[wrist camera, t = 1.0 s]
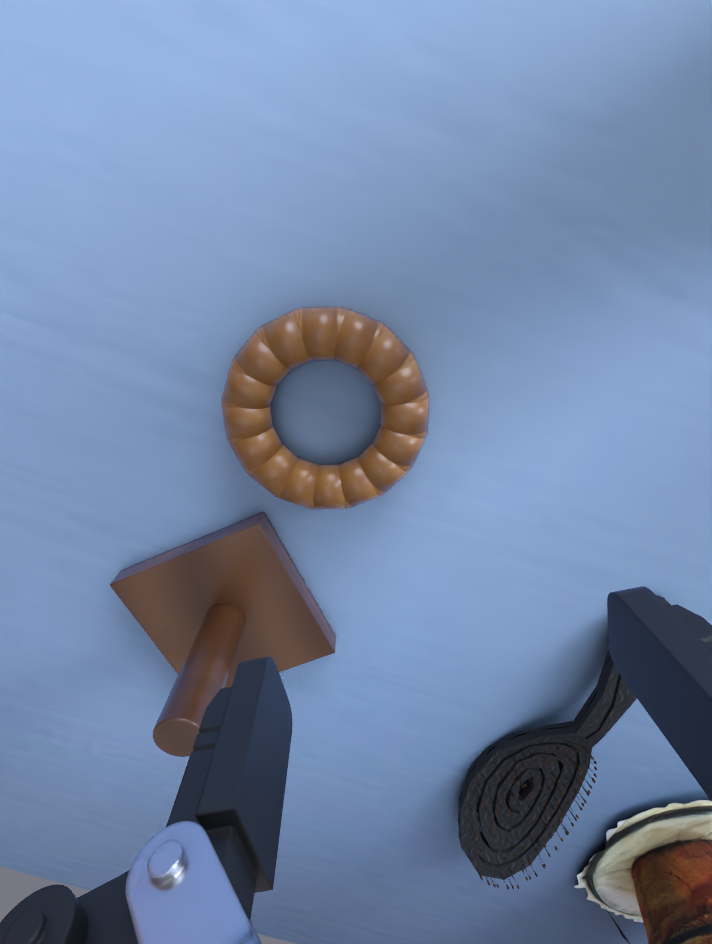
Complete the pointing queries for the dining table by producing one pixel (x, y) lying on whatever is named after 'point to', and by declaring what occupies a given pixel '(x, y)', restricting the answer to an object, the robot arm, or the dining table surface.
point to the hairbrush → (534, 782)
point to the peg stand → (221, 617)
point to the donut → (325, 339)
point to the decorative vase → (658, 873)
